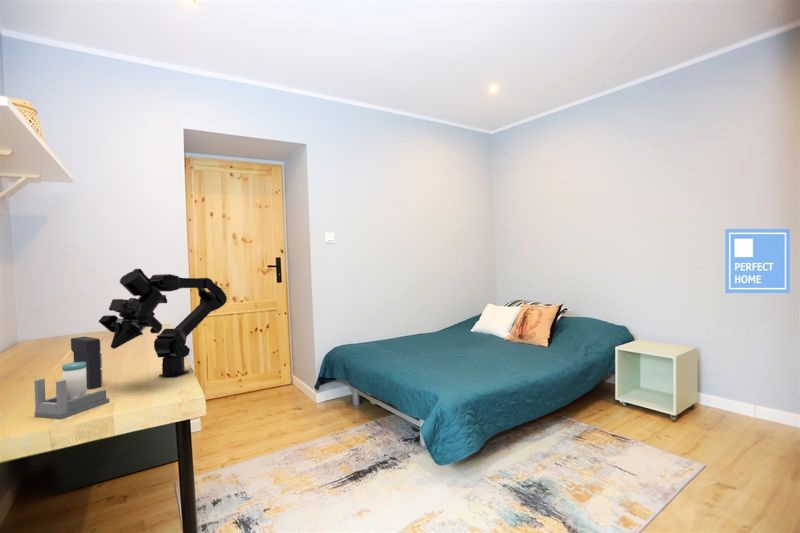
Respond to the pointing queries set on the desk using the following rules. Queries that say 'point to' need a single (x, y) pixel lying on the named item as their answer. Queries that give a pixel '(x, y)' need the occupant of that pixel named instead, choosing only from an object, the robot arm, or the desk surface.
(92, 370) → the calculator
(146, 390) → the desk surface
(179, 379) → the desk surface
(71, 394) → the teal-lidded white jar
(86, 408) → the mount
